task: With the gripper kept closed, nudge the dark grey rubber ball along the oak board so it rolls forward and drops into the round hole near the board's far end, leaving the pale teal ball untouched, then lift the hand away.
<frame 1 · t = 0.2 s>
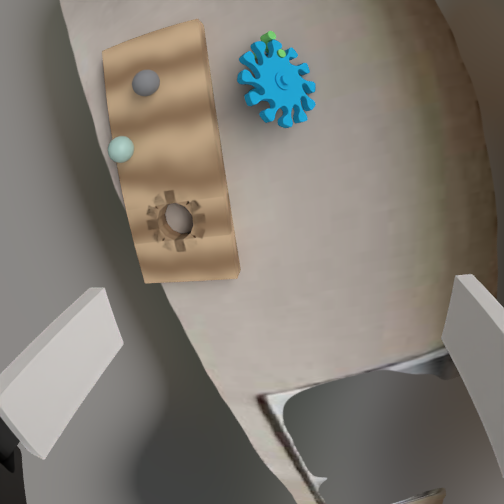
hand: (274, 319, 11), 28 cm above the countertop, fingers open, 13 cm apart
teal ball: (120, 149, 33), point 4 cm above the countertop, touching board
gear: (280, 83, 32), on the countertop
board: (170, 154, 36), on the countertop
grey ball: (145, 82, 29), point 4 cm above the countertop, touching board
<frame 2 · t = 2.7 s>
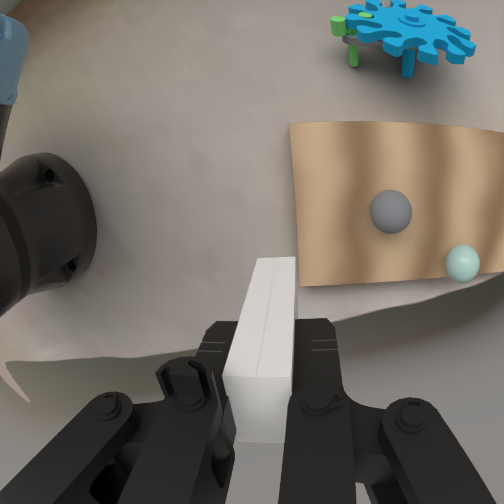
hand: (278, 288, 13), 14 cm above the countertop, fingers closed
teal ball: (462, 263, 21), point 4 cm above the countertop, touching board
gear: (389, 38, 19), on the countertop
board: (464, 198, 23), on the countertop
grey ball: (391, 211, 21), point 4 cm above the countertop, touching board
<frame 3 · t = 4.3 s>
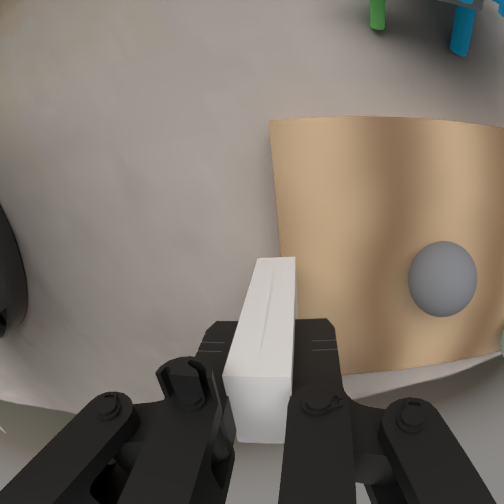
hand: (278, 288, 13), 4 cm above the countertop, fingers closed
grey ball: (443, 279, 11), point 4 cm above the countertop, touching board
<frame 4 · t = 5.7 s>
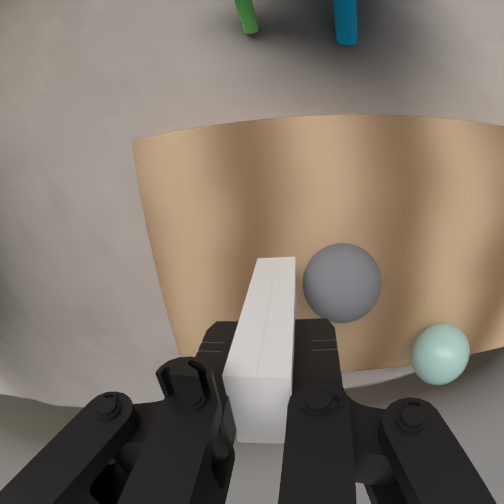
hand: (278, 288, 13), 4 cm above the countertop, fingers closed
teal ball: (440, 353, 13), point 4 cm above the countertop, touching board
board: (456, 239, 15), on the countertop
grey ball: (342, 283, 12), point 4 cm above the countertop, tilted 53°, touching board
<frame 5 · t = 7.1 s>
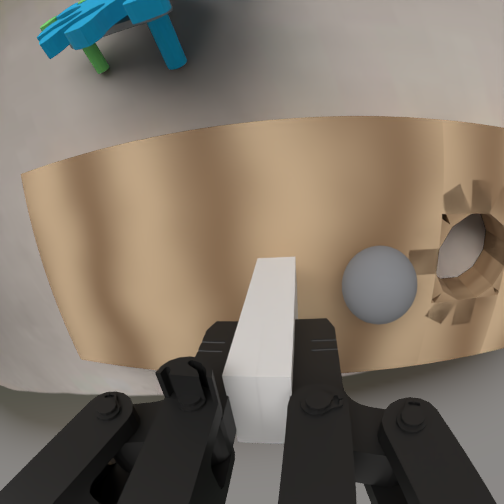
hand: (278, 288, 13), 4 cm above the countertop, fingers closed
gear: (165, 14, 12), on the countertop
board: (318, 247, 16), on the countertop
grey ball: (379, 285, 12), point 4 cm above the countertop, tilted 43°, touching board
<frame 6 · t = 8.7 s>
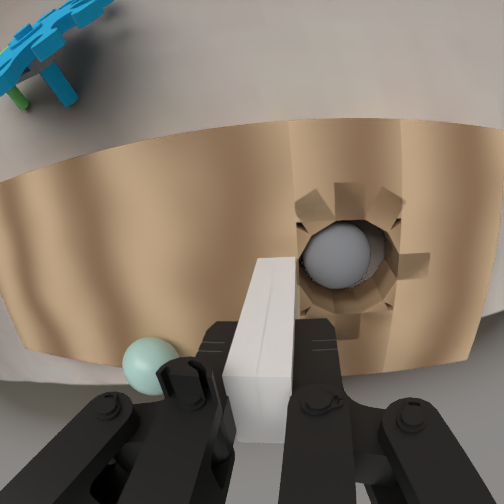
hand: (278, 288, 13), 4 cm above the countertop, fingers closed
teal ball: (151, 366, 15), point 4 cm above the countertop, touching board
gear: (67, 54, 13), on the countertop
board: (192, 256, 17), on the countertop
grey ball: (336, 254, 14), point 2 cm above the countertop, tilted 110°
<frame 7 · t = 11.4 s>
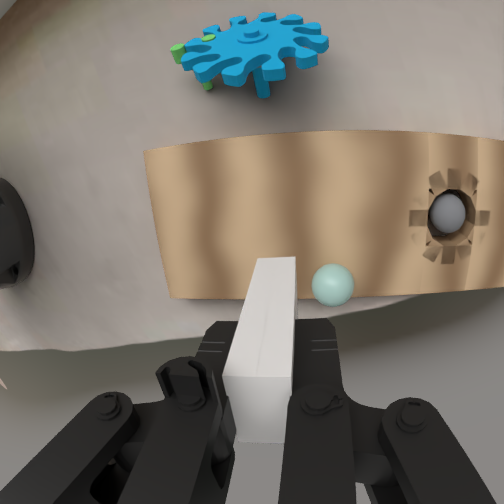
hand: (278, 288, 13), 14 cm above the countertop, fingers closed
teal ball: (332, 285, 22), point 4 cm above the countertop, touching board
gear: (254, 56, 21), on the countertop
board: (352, 211, 24), on the countertop
grey ball: (447, 213, 21), point 2 cm above the countertop, tilted 94°
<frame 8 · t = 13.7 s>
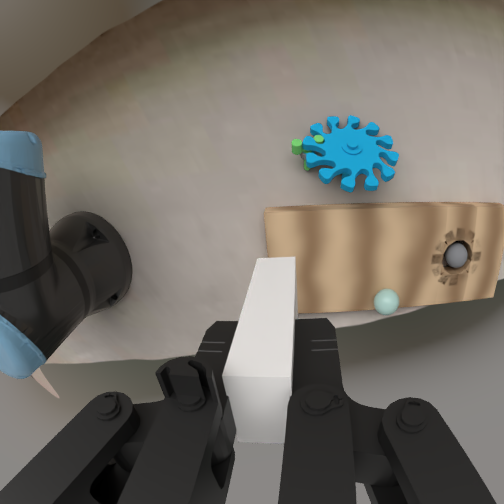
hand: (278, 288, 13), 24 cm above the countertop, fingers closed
teal ball: (386, 301, 34), point 4 cm above the countertop, touching board
gear: (340, 148, 33), on the countertop
board: (396, 253, 36), on the countertop
grey ball: (456, 255, 33), point 2 cm above the countertop, tilted 80°
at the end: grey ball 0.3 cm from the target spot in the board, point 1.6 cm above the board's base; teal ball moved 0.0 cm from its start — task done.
